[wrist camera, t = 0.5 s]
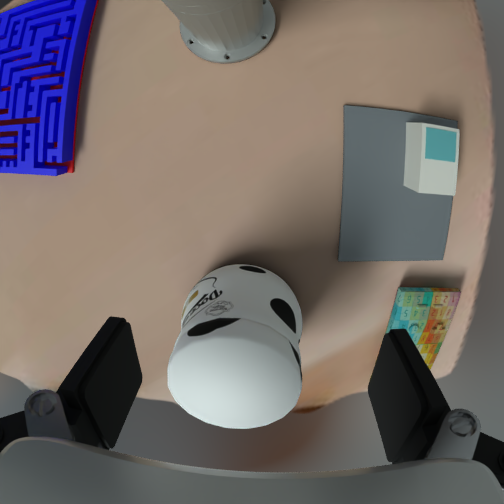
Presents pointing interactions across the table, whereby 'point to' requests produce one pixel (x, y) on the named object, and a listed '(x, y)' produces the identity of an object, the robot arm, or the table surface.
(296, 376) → the milk container
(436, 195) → the mat
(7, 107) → the maze
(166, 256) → the table surface
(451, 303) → the puzzle game
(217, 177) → the table surface
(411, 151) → the card box
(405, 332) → the robot arm
